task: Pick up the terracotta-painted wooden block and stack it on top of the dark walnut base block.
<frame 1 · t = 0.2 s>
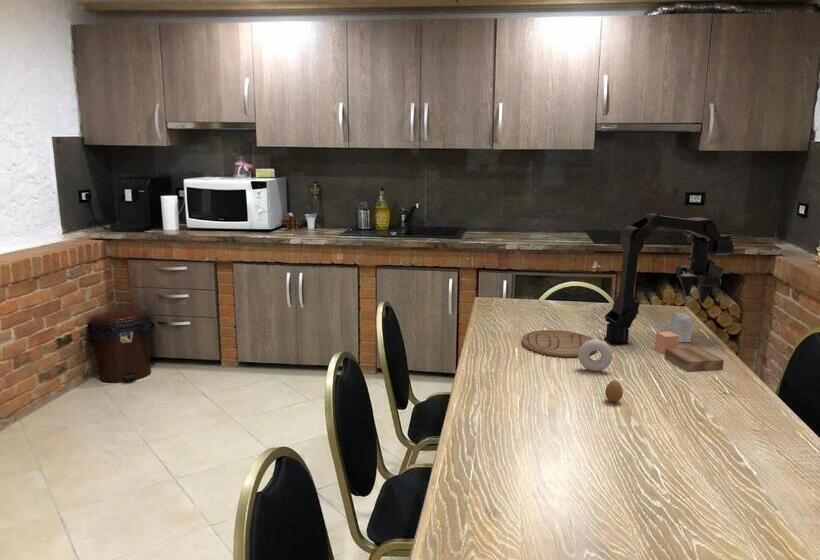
hand: (694, 299, 219), 14 cm above the table, tool pointing down, fingers open, 9 cm apart
medicine box: (679, 339, 223), on the table
donut: (593, 371, 191), on the table
walnut base: (692, 363, 199), on the table
trivet: (559, 347, 214), on the table
egg: (613, 402, 169), on the table
terracotta block: (665, 351, 210), on the table
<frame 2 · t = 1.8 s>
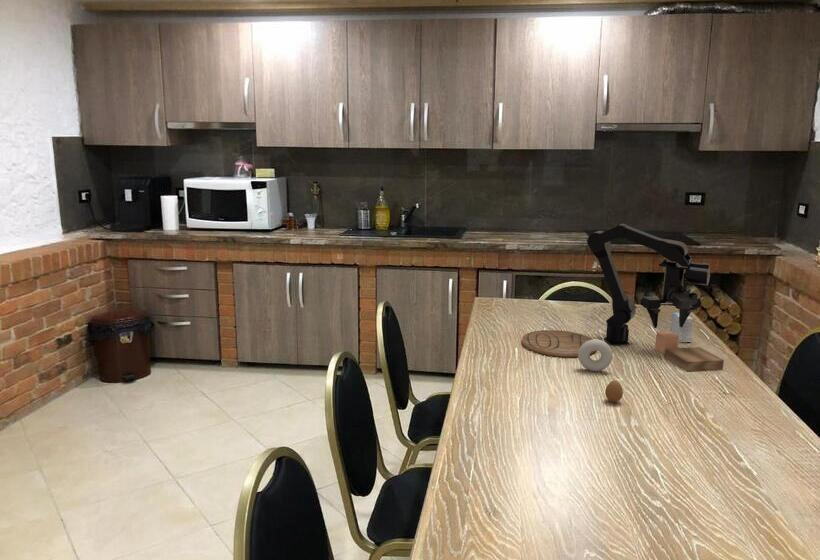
hand: (668, 327, 208), 8 cm above the table, tool pointing down, fingers open, 9 cm apart
nothing on the table moved.
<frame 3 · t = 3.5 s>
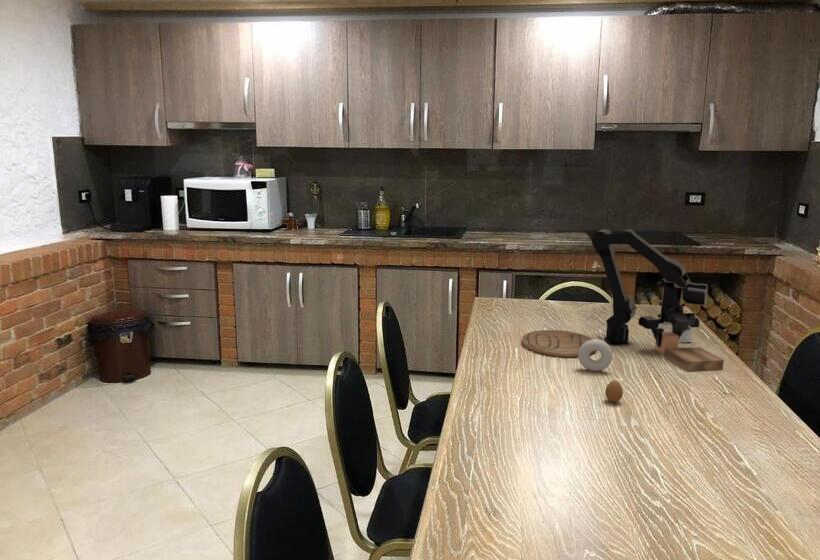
hand: (666, 346, 210), 2 cm above the table, tool pointing down, fingers closed on terracotta block, 5 cm apart
terracotta block: (665, 351, 210), on the table, touching gripper
everything else where it was.
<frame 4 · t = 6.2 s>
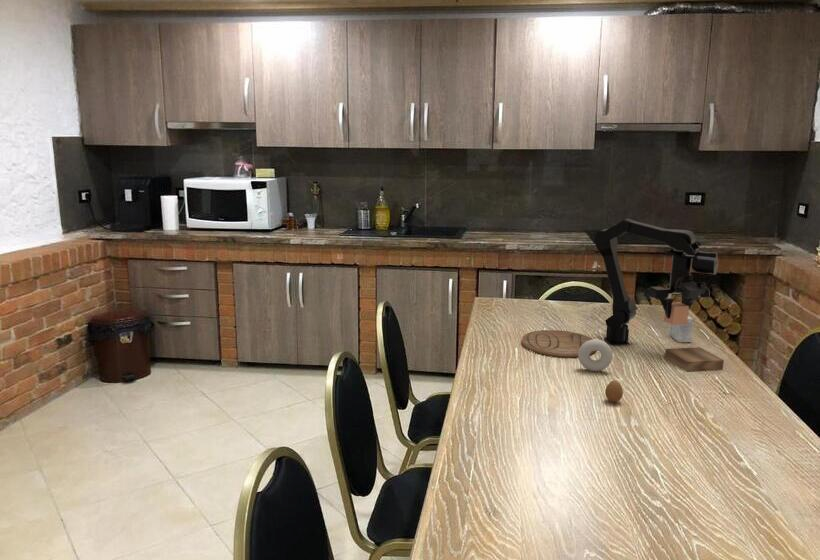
hand: (675, 317, 205), 12 cm above the table, tool pointing down, fingers closed on terracotta block, 5 cm apart
terracotta block: (675, 322, 205), point 11 cm above the table, touching gripper
everything else where it was.
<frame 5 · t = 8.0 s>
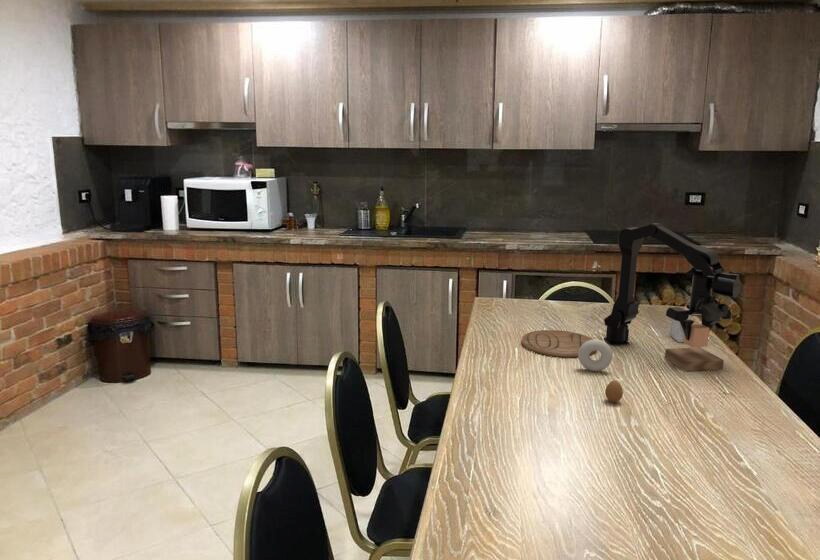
hand: (695, 339, 197), 8 cm above the table, tool pointing down, fingers closed on terracotta block, 5 cm apart
terracotta block: (695, 344, 197), point 6 cm above the table, touching gripper
everything else where it was.
when the fingers open (6 cm above the table, at t = 9.2 s): terracotta block drops 1 cm, resting on walnut base.
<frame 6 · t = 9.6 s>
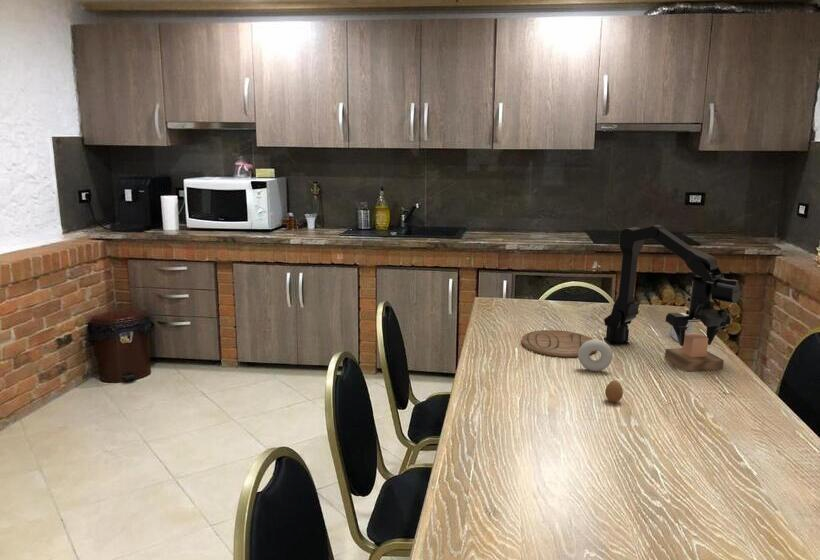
hand: (695, 345, 197), 6 cm above the table, tool pointing down, fingers open, 9 cm apart
terracotta block: (693, 354, 198), point 3 cm above the table, touching walnut base
everything else where it was.
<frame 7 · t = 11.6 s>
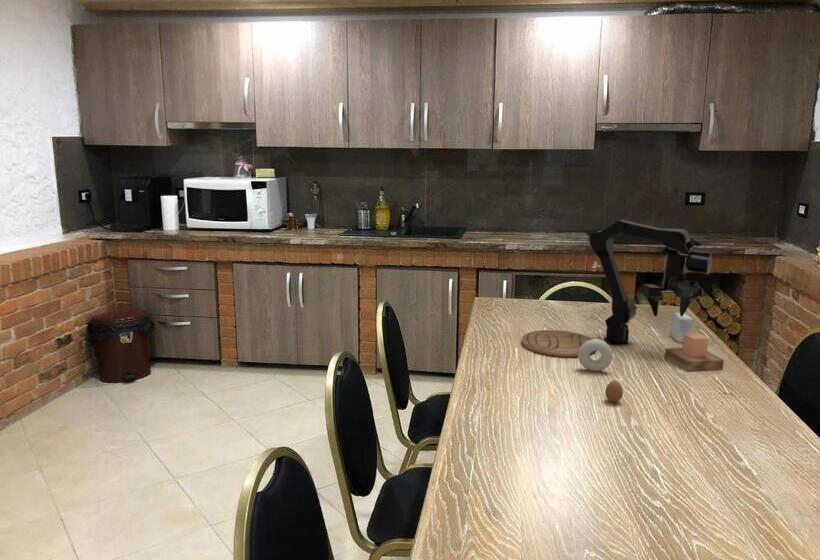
hand: (668, 315, 206), 12 cm above the table, tool pointing down, fingers open, 9 cm apart
nothing on the table moved.
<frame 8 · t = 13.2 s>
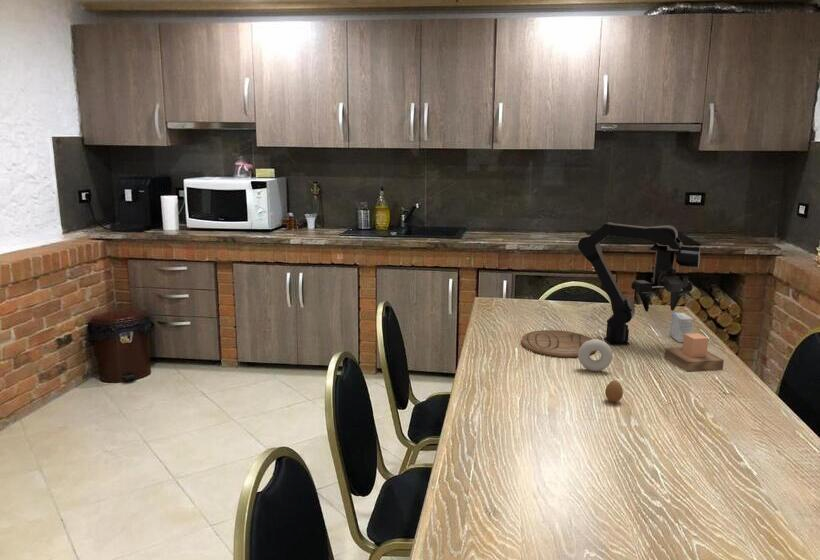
hand: (659, 310, 210), 13 cm above the table, tool pointing down, fingers open, 9 cm apart
nothing on the table moved.
at the end: terracotta block inside the target area on the walnut base (0.0 cm from its centre), point 3.0 cm above the walnut base's base; terracotta block tilted 0°; the gripper is holding nothing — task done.
